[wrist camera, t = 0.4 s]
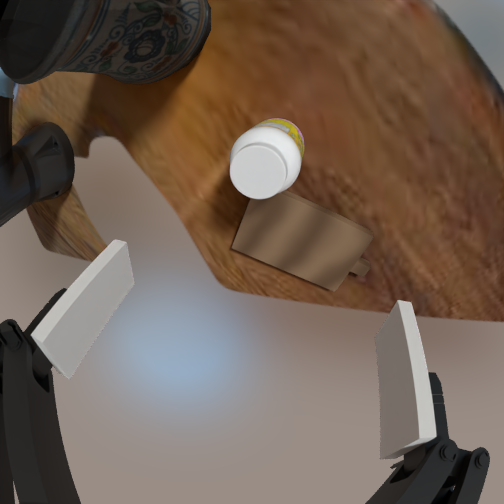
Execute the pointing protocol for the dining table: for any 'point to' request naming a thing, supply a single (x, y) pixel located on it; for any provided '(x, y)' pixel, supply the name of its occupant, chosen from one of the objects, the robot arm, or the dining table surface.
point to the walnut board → (303, 239)
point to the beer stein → (101, 37)
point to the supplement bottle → (267, 158)
